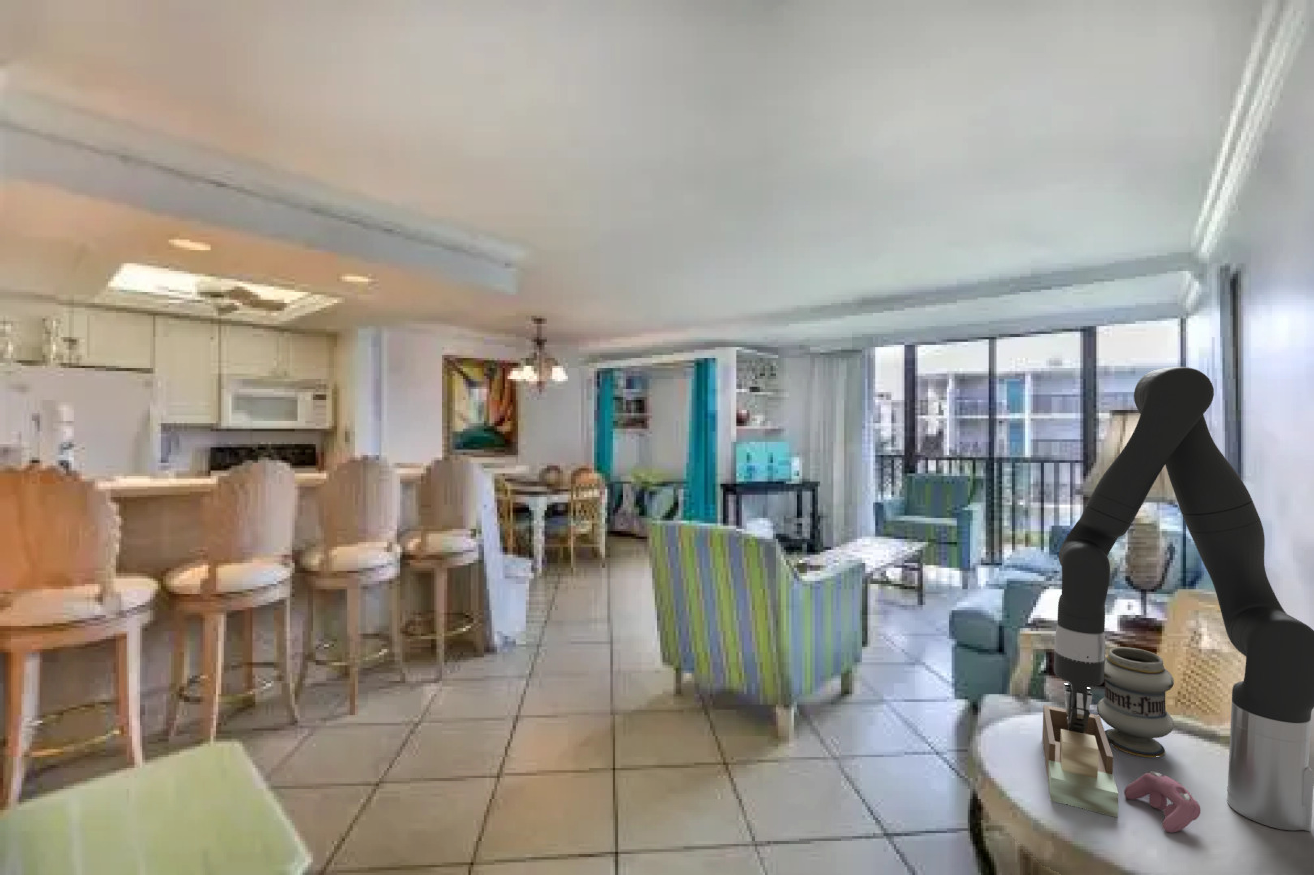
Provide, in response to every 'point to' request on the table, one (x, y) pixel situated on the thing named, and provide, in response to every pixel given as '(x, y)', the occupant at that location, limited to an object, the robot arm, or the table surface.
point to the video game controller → (1159, 791)
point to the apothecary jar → (1136, 701)
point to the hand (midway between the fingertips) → (1075, 746)
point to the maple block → (1079, 753)
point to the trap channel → (1070, 785)
